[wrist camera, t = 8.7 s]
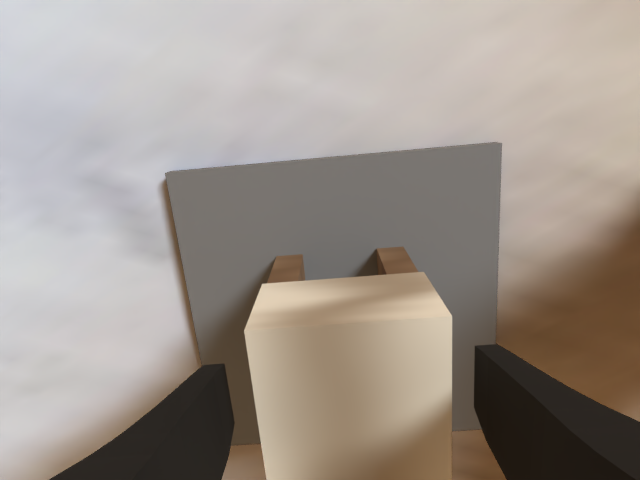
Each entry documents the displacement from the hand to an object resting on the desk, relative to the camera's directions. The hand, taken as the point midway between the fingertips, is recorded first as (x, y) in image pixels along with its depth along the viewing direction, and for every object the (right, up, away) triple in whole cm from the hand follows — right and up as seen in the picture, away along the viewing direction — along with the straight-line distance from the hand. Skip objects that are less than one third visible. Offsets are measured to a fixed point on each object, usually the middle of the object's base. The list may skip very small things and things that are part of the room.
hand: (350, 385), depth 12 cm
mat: (0, +1, +5) cm, 5 cm away
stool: (0, +1, +4) cm, 5 cm away
